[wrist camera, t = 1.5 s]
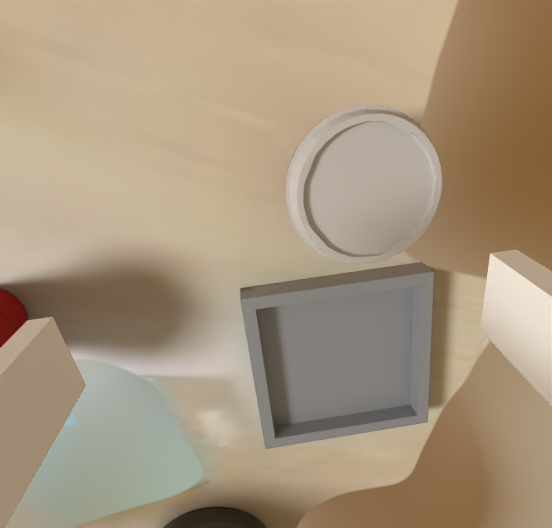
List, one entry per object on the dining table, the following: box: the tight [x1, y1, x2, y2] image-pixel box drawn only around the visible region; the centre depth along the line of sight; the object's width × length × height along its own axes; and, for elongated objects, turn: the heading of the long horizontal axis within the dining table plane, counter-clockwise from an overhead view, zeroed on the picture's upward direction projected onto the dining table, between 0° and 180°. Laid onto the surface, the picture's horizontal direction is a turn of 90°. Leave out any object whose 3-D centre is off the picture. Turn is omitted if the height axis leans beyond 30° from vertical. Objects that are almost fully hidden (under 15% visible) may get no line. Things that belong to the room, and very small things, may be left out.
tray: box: [241, 262, 434, 449], centre depth 38 cm, size 18×18×2 cm
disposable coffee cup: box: [285, 105, 442, 264], centre depth 27 cm, size 10×10×12 cm
